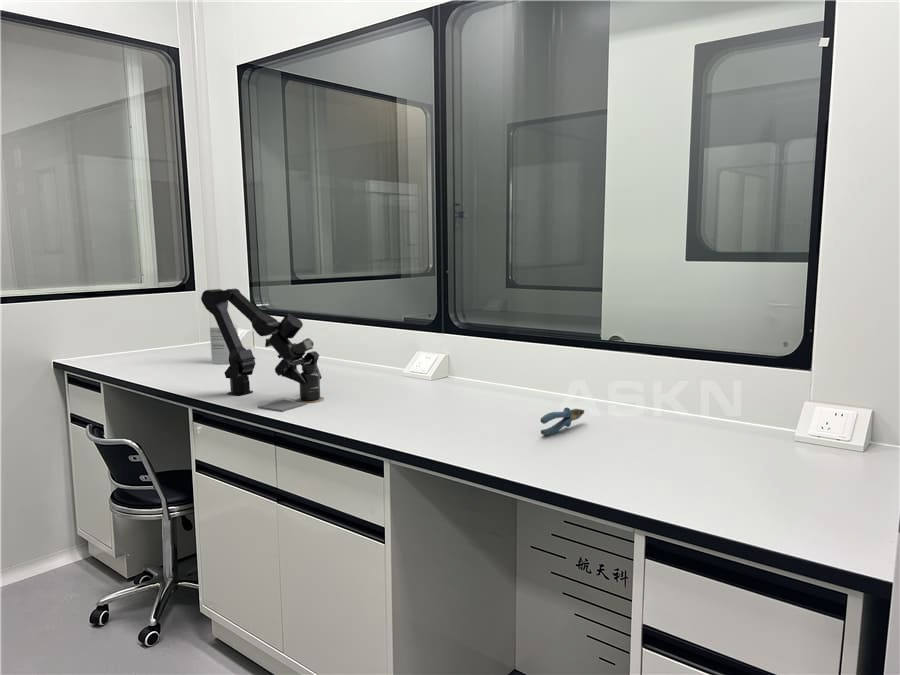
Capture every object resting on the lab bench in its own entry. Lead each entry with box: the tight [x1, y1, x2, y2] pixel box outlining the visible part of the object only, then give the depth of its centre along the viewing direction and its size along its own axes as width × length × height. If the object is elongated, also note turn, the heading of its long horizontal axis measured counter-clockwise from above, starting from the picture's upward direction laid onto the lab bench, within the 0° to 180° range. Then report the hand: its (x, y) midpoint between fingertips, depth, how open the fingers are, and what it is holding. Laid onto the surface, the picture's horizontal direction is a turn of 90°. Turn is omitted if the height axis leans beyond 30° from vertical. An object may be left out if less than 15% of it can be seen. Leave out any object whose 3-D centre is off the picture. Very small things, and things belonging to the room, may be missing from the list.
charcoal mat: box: [257, 399, 308, 413], centre depth 220 cm, size 11×11×1 cm
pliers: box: [540, 407, 585, 436], centre depth 187 cm, size 20×2×6 cm, turn 136°
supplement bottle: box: [298, 364, 321, 401], centre depth 227 cm, size 7×7×12 cm
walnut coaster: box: [296, 396, 325, 404], centre depth 228 cm, size 9×9×1 cm
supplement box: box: [209, 324, 239, 365], centre depth 305 cm, size 10×9×17 cm
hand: (313, 381), depth 227 cm, fingers open, 9 cm apart
